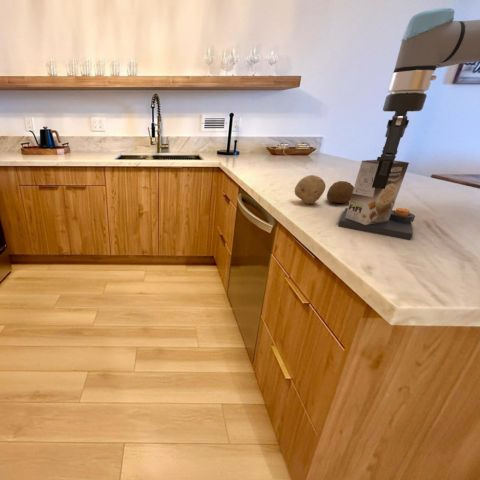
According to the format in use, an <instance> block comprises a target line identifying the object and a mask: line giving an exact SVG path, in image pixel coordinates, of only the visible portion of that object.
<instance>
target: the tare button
mask: <svg viewBox="0 0 480 480" xmlns="http://www.w3.org/2000/svg"><path fill="white" fill-rule="evenodd" d="M395 210H396V211H395V214H398V215H403V216H408V214H409V213H411V210H410V209H407V208H403V207H397V208H396V209H395Z"/></svg>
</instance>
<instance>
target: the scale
mask: <svg viewBox="0 0 480 480" xmlns="http://www.w3.org/2000/svg"><path fill="white" fill-rule="evenodd" d="M347 210H348V207H345V209H344V210H343V212H342V215H341V217H340V219H339V222H338V225H337V227H339V228H343V229H349V230H355V231H358V232H359V231H360V232H365V233H371V234H373V235H374V234H375V235H380V236H385V237H390V238H396V239H400V240H406V241H411V239H412V238H413V234H414V233H413V226H412V223H413V222H414V220H415V219H416V215H415V214H413V213H411V212H409V214H408V216H403V215H398V214H395V211H396V209H395V210H394V209H392V212H391V214H390V217H389V220H388V221H386V222H380V223H374V224H369V225H364V224H361V223H358V222H355V221H352V220H350V219H347V218H345V216H346V213H347Z"/></svg>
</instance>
